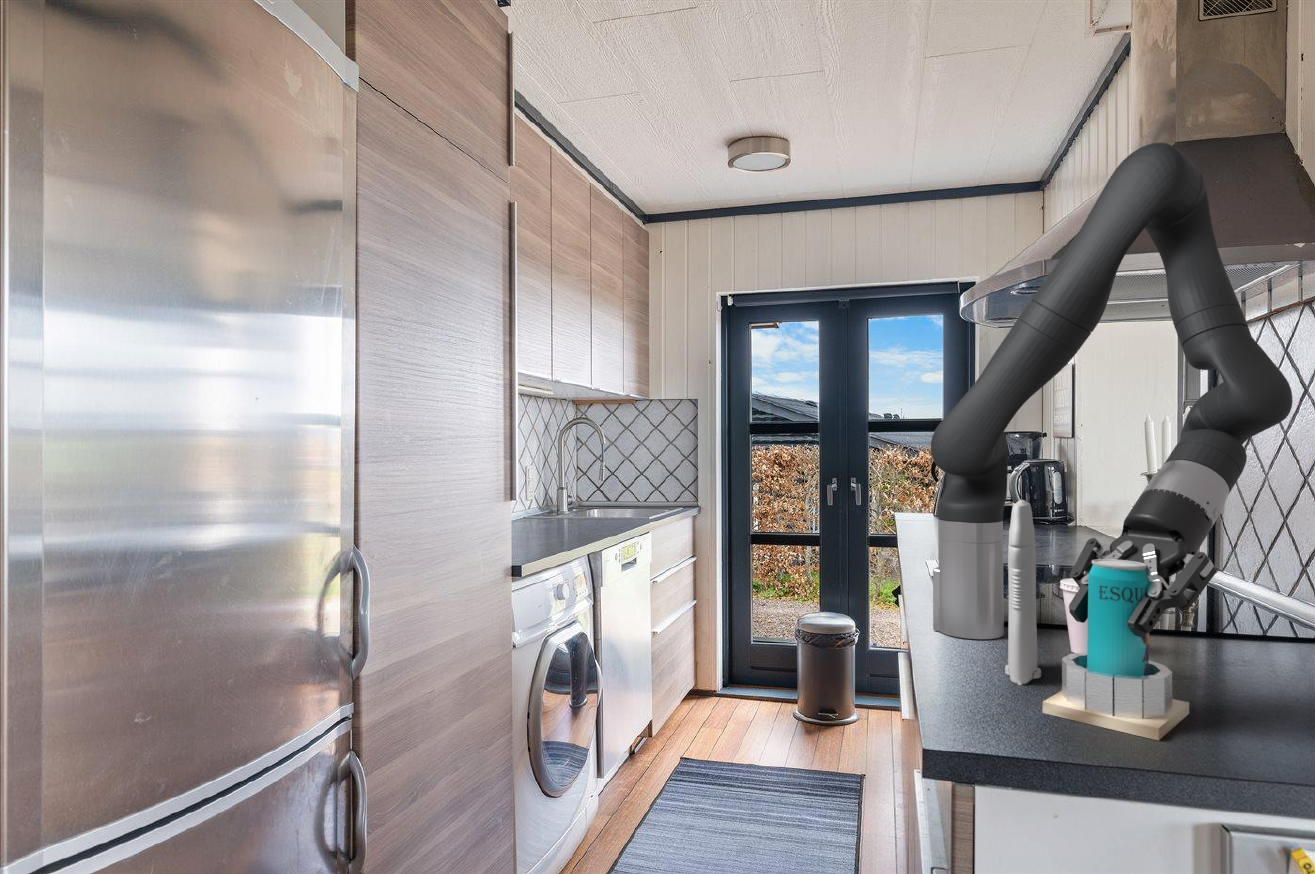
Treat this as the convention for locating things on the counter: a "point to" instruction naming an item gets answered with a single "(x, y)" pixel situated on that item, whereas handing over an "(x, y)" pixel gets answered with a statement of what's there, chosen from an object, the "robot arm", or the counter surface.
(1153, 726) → the base board
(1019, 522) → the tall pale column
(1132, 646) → the beverage can
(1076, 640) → the smoothie
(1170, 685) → the collar
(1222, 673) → the counter surface
